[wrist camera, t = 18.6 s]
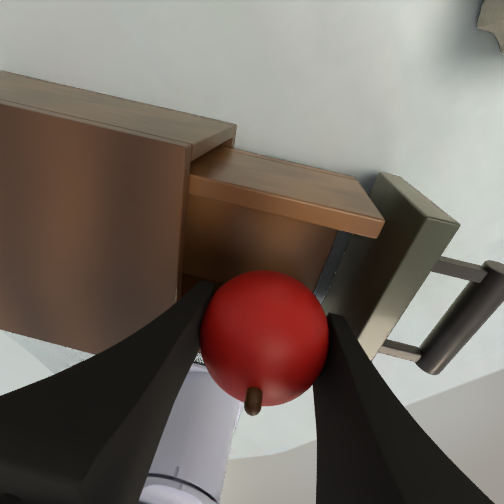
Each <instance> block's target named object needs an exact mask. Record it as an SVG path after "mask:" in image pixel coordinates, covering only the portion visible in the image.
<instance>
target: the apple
mask: <svg viewBox="0 0 504 504" xmlns="http://www.w3.org/2000/svg"><path fill="white" fill-rule="evenodd" d="M199 343H200V350H201V355H202V358H203V361H204V364H205V366H206V368H207V370H208V372H209V374H210V375H211V377H212V378H213V380H214V381H215V382H216V383H217V385H218V386H219V387H220V388H221V389H222V390H223V391H225V392H226V393H227V394H229V395H230V396H232V397H234V398H235V399H237V400H239V401H241V402H244V408H245V411H246V412H247V414H249V415H251V416H254V415H257V414H258V413H259V412H260V410H261V406H274V405H280V404H283V403H286V402H289V401H291V400H293V399H295V398H297V397H299V396H300V395H301V394H303V393H304V392H305V391H306V390H308V389H309V388H310V387H311V386H312V384H313V383H314V382H315V381H316V380H317V378H318V377H319V375H320V373H321V371H322V370H323V367H324V365H325V362H326V359H327V356H328V350H329V328H328V323H327V318H326V316H325V313H324V311H323V308H322V306H321V304H320V303H319V301H318V300H317V298H316V297H315V295H314V294H313V293H312V292H311V291H310V290H309V289H308V288H307V287H306V286H305V285H304V284H302V283H301V282H300V281H298V280H297V279H295V278H293V277H291V276H289V275H287V274H284V273H281V272H276V271H270V270H256V271H250V272H246V273H243V274H241V275H238V276H236V277H234V278H232V279H231V280H229V281H228V282H226V283H225V284H224V285H223V286H221V287H220V288H219V289H218V290H217V291H216V293H215V294H214V295H213V296H212V298H211V299H210V301H209V303H208V305H207V308H206V310H205V312H204V316H203V319H202V322H201V326H200V333H199Z"/></svg>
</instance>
